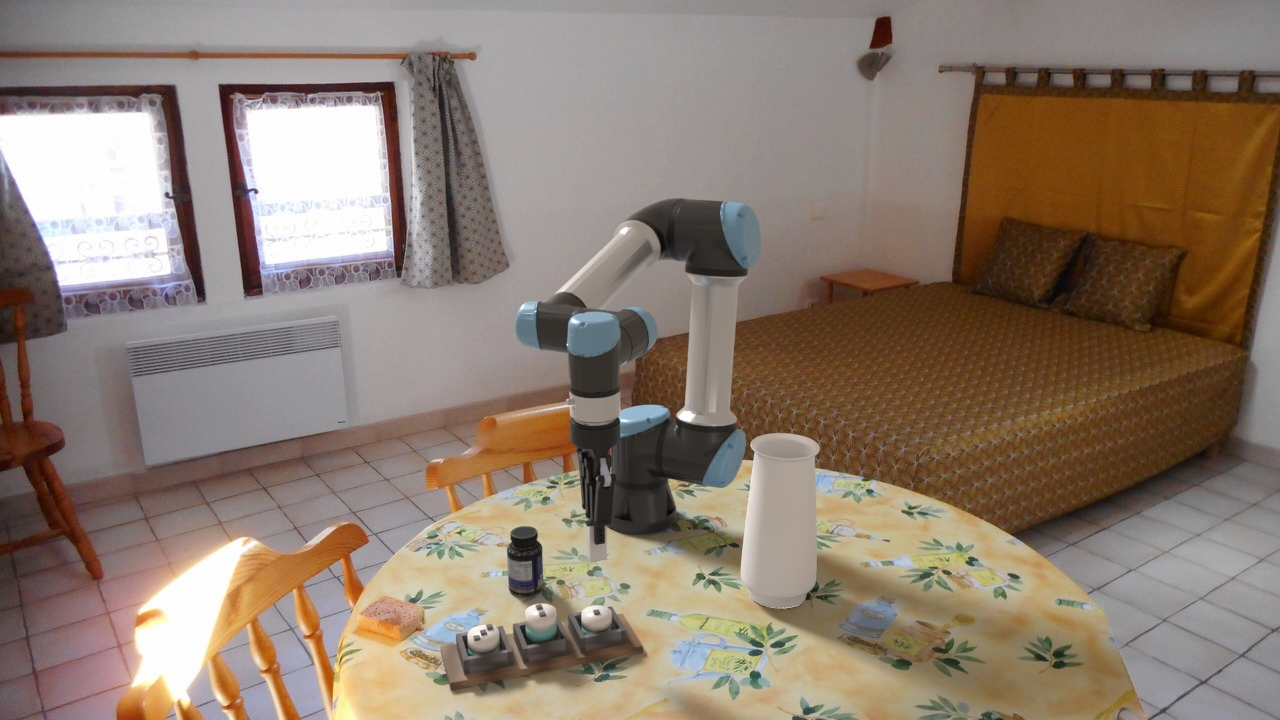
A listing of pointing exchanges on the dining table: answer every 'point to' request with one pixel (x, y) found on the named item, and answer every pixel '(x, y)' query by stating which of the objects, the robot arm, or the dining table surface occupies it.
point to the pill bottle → (525, 562)
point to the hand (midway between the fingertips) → (597, 558)
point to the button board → (538, 651)
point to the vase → (781, 521)
